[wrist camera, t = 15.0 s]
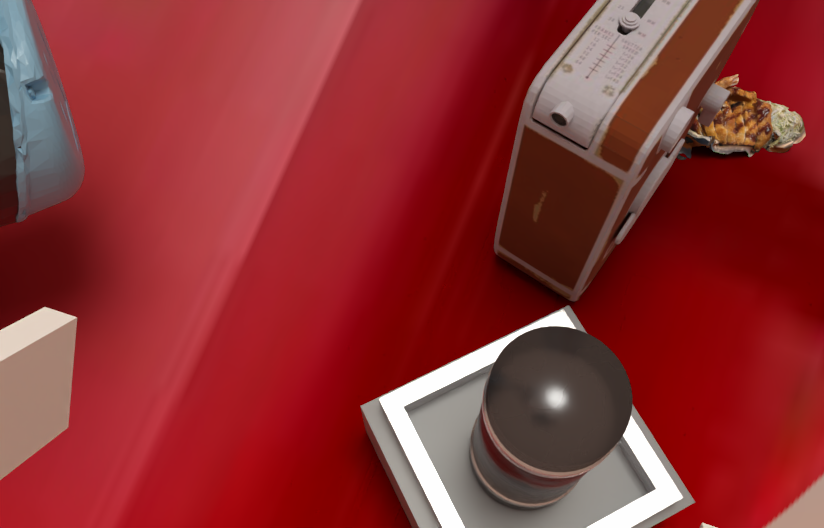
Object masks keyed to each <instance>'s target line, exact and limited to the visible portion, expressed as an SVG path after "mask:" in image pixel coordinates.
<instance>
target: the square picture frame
mask: <svg viewBox="0 0 824 528" xmlns="http://www.w3.org/2000/svg"><path fill="white" fill-rule="evenodd" d="M547 326H562V327H569V328H573V329H576V328H575V327H574V325H573V323H572V322H571V320H570V319H569V317H568V316H567V314H566V312H565V311H564V309H563V310H561V311H559V312H557V313H555V314H552V315H550V316H548V317H546V318H544V319H542V320H540V321H538V322H536V323H534V324H532V325H530V326H528V327H526V328H524V329H522V330H520V331H517V332H515V333H513V334H511V335H509V336H507V337H505V338H503V339H501V340H499V341H497V342H495V343H493V344H491V345H489V346H487V347H485V348H482V349H480V350H478V351H476V352H474V353H472V354H470V355H468V356H466V357H464V358H462V359H460V360H458V361H456V362H454V363H452V364H450V365H447V366H445V367H443V368H441V369H439V370H437V371H435V372H433V373H431V374H429V375H427V376H425V377H423V378H421V379H419V380H417V381H415V382H412V383H410V384H408V385H406V386H404V387H402V388H400V389H398V390H396V391H394V392H392V393H390V394H388V395H386V396H384V397H382V398H380V399H379V403H380V407H381V409H382V411H383V413H384V415H385V417H386V419H387V421H388V423H389V425H390V427H391V429H392V431H393V433H394V435H395V437H396V440H397V442H398V444H399V446H400V448H401V450H402V452H403V454H404V456H405V458H406V460H407V462H408V464H409V466H410V468H411V470H412V472H413V474H414V476H415V478H416V480H417V482H418V484H419V486H420V488H421V490H422V492H423V494H424V496H425V498H426V500H427V502H428V504H429V506H430V508H431V510H432V512H433V514H434V516H435V518H436V520H437V522H438V524H439V527H440V528H464V526H463V524H462V522H461V520H460V518H459V516H458V514H457V512H456V510H455V508H454V506H453V504H452V502H451V500H450V498H449V496H448V494H447V492H446V490H445V488H444V486H443V484H442V482H441V480H440V478H439V476H438V474H437V472H436V471H435V469H434V467H433V465H432V463H431V461H430V459H429V457H428V455H427V453H426V451H425V449H424V447H423V445H422V443H421V441H420V439H419V437H418V435H417V433H416V431H415V429H414V427H413V425H412V423H411V421H410V419H409V417H408V415H407V413H406V412H408V411H410V410H412V409H414V408H416V407H418V406H420V405H422V404H424V403H426V402H428V401H430V400H432V399H434V398H436V397H438V396H440V395H442V394H444V393H446V392H448V391H450V390H452V389H454V388H456V387H459V386H461V385H463V384H465V383H467V382H469V381H471V380H473V379H475V378H477V377H479V376H481V375H483V374H485V373H487V372H489V371H490V370H491V368H492V366H493V365H494V363H495V361H496V359H497V357H498V355H499V354H500V353H501V351H502V350H503V349H504V348H505V347H506V346H507V345H508V344H509V343H510V342H511V341H512V340H513V339H515V338H516V337H518V336H519V335H521V334H523V333H525V332H527V331H530V330H532V329H536V328H540V327H547ZM618 445H619V446H620V448H621V450H622V451H623V453H624V455H625V456H626V458H627V459H628V461H629V463H630V464H631V466H632V467H633V469H634V471H635V472H636V474H637V476H638V477H639V479H640V480H641V482H642V484H643V485H644V487H645V489H646V490H647V492H648V493H649V494H647V495H645V496H643V497H641V498H640V499H638V500H636V501H634V502H632V503H631V504H629V505H627V506H625V507H623V508H622V509H620V510H618V511H616V512H614V513H612V514H611V515H609V516H607V517H605V518H603V519H602V520H600V521H598V522H596V523H594V524H593V525H591V526H589V527H587V528H630V527H632V526H634V525H636V524H637V523H639V522H641V521H643V520H645V519H646V518H648V517H650V516H652V515H653V514H655V513H657V512H659V511H661V510H662V509H664V508H666V507H668V506H669V505H671V504H673V503H675V502H677V501H678V500H680V499H682V498H683V496H682V495H681V493H680V492H679V490H678V489H677V487H676V485H675V484H674V482H673V481H672V479H671V478H670V476H669V474H668V473H667V471H666V470H665V468H664V467H663V465H662V463H661V462H660V460H659V459H658V457H657V456H656V454H655V452H654V451H653V449H652V448H651V446H650V445H649V443H648V441H647V440H646V438H645V437H644V435H643V434H642V432H641V430H640V429H639V427H638V426H637V424H636V423H635V421H634V419H633V418H632V416H631V417H630V421H629V424H628V426H627V429H626V431H625V433H624V434H623V436H622V437H621V439H620V440H619V442H618Z"/></svg>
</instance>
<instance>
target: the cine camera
mask: <svg viewBox="0 0 824 528" xmlns="http://www.w3.org/2000/svg"><path fill="white" fill-rule="evenodd" d="M758 2H759V0H597V1H596V3H595V4H594V5H593V6H592V7H591V9H590V10H589V11H588V12H587V14H586V15H585V16H584V17H583V18H582V20H581V21H580V22H579V23H578V24H577V26H576V27H575V28H574V29H573V31H572V32H571V33H570V34H569V35H568V37H567V38H566V39H565V40H564V42H563V43H562V44H561V45H560V46H559V48H558V49H557V50H556V51H555V53H554V54H553V55H552V56H551V57H550V59H549V60H548V61H547V62H546V63H545V65H544V66H543V67H542V69H541V70H540V72H539V73H538V74H537V76H536V77H535V79H534V81H533V82H532V84H531V86H530V88H529V90H528V92H527V95H526V98H525V100H524V104H523V108H522V111H521V115H520V119H519V123H518V128H517V132H516V137H515V142H514V147H513V152H512V157H511V161H510V166H509V171H508V176H507V181H506V185H505V190H504V195H503V200H502V205H501V210H500V214H499V219H498V224H497V229H496V234H495V241H494V251H495V253H496V254H497V255H498V256H499V257H500V258H502V259H503V260H505V261H506V262H508V263H510V264H511V265H513V266H514V267H516V268H518V269H519V270H521V271H522V272H524V273H525V274H527V275H529V276H530V277H532V278H533V279H535V280H537V281H538V282H540V283H541V284H543V285H545V286H546V287H548V288H549V289H551V290H553V291H554V292H556V293H557V294H559V295H561V296H563V297H564V298H566V299H568V300H570V301H577V300H578V299H579V298H580V297H581V295H582V294H583V293H584V291H585V290H586V289H587V287H588V286H589V284H590V283H591V282H592V280H593V279H594V277H595V276H596V274H597V273H598V271H599V270H600V268H601V267H602V265H603V264H604V262H605V261H606V260H607V258H608V257H609V255H610V254H611V252H612V251H613V249H614V248H615V246H616V245H617V244H620V243H621V242H622V240H623V239H624V238H625V236H626V235H627V233H628V232H629V230H630V228H631V227H632V225H633V224H634V222H635V221H636V219H637V218H638V216H639V215H640V213H641V212H642V210H643V209H644V207H645V206H646V204H647V203H648V201H649V200H650V198H651V196H652V195H653V193H654V192H655V190H656V189H657V187H658V186H659V184H660V183H661V181H662V180H663V178H664V177H665V175H666V174H667V172H668V171H669V169H670V167H671V166H672V164H673V162H674V160H675V159H676V157H677V155H678V153H679V151H680V149H681V148H682V146H683V144H684V142H685V140H684V139H685V137H686V135H687V133H688V131H689V130H690V128H691V126H692V124H693V122H694V120H695V119H696V117H697V115H698V113H699V111H700V109H701V108H703V110H702V112H701V114H700V116H699V118H698V120H697V121H698V122H699V123H701V124H703V125H705V126H707V127H709V126H710V124H711V123H712V121H713V119H714V118H715V116H716V114H717V113H718V112H719V111H720V109H721V108H722V106H723V104H724V103H725V101H726V100H727V98H728V96H729V95H730V91H728V90H726V89H724V88H722V87H720V86H718V85H716V84H715V82H716V80H717V78H718V77H719V75H720V73H721V71H722V69H723V67H724V66H725V64H726V62H727V60H728V58H729V56H730V55H731V53H732V51H733V49H734V47H735V45H736V44H737V42H738V40H739V38H740V36H741V35H742V33H743V31H744V29H745V27H746V25H747V23H748V22H749V20H750V18H751V16H752V14H753V12H754V10H755V8H756V6H757V4H758Z"/></svg>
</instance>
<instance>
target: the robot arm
mask: <svg viewBox="0 0 824 528" xmlns="http://www.w3.org/2000/svg"><path fill="white" fill-rule="evenodd" d="M84 172H85V168H84V160H83V156H82V151H81V147H80V143H79V139H78V135H77V131H76V128H75V124H74V121H73V117H72V114H71V111H70V107H69V104H68V101H67V98H66V94H65V91H64V88H63V85H62V82H61V79H60V76H59V73H58V70H57V67H56V64H55V61H54V59H53V56H52V53H51V50H50V47H49V44H48V42H47V39H46V36H45V33H44V31H43V28H42V25H41V23H40V20H39V18H38V15H37V13H36V10H35V8H34V6H33V3H32V1H31V0H0V227H1V226H5V225H8V224H11V223H14V222H17V223H18V222H22V221H24V220H25V219H27V217H28V216H29V215H31V214H34V213H36V212H38V211H41V210H43V209H46V208H48V207H51V206H53V205H56V204H58V203H61V202H63V201H66V200H68V199H69V198H71V197H72V196H73V195H74V194H75V193H76V192H77V191H78V190H79V188H80V187H81V184H82V181H83V179H84ZM76 326H77V317H75V316H72V315H68V314H65V313H62V312H59V311H56V310H53V309H50V308H47V307H44V308H42V309H40V310H38V311H36V312H34V313H32V314H30V315H28V316H26V317H24V318H23V319H21V320H19V321H17V322H15V323H13V324H11V325H9V326H7V327H5V328H3V329H1V330H0V480H1V479H2V478H3V477H5V476H6V475H7V474H9V473H10V472H11V471H12V470H14V469H15V468H16V467H18V466H19V465H20V464H22V463H23V462H24V461H25V460H27V459H28V458H29V457H31V456H32V455H33V454H34V453H36V452H37V451H38V450H40V449H41V448H42V447H44V446H45V445H46V444H47V443H49V442H50V441H51V440H53V439H54V438H55V437H56V436H58V435H59V434H60V433H62V432H63V431H64V430H66V429H67V428H68V422H69V410H70V398H71V386H72V374H73V362H74V350H75V338H76ZM700 528H717V527H714V526H711V525H708V524H705V523H702V524H701V526H700Z"/></svg>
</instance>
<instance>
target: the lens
mask: <svg viewBox="0 0 824 528" xmlns="http://www.w3.org/2000/svg"><path fill="white" fill-rule="evenodd" d="M631 412H632V391H631V386H630V382H629V379H628V376H627V374H626V371H625V369H624V368H623V366H622V364H621V362H620V361H619V360H618V358H617V357H616V355H615V354H614V353H613V352H612V351H611V350H610V349H609V348H608V347H607V346H606V345H604V344H603V343H602V342H601V341H599V340H598V339H596V338H595V337H593V336H591V335H589V334H587V333H585V332H582V331H580V330H577V329H573V328H569V327H562V326H547V327H540V328H536V329H532V330H530V331H527V332H525V333H523V334H521V335H519V336H518V337H516V338H515V339H513V340H512V341H511V342H510V343H509V344H508V345H507V346H506V347H505V348H504V349H503V350H502V351H501V353H500V354H499V355H498V357H497V359H496V361H495V363H494V365H493V366H492V368H491V370H490V372H489V374H488V377H487V379H486V383H485V386H484V391H483V396H482V404H481V408H480V411H479V415H478V417H477V418H476V420H475V423H474V426H473V429H472V433H471V437H470V463H471V467H472V471H473V473H474V476H475V478H476V480H477V482H478V483H479V485H480V486H481V488H482V489H483V490H484V491H485V492H486V493H487V494H488V495H489V496H490V497H491V498H492V499H494V500H495V501H496V502H498V503H500V504H502V505H504V506H506V507H509V508H512V509H516V510H523V511H526V510H537V509H541V508H545V507H547V506H549V505H551V504H553V503H555V502H557V501H559V500H560V499H562V498H563V497H565V496H566V495H567V494H568V493H569V492H570V491H571V490H572V489H573V488H574V487H575V486H576V485H577V483H578V482H579V480H580V479H581V478H582V477H583V476H584V475H585V474H586V473H587V472H588V471H590V470H591V469H593V468H594V467H596V466H597V465H598V464H600V463H601V462H602V461H603V460H604V459H605V458H606V457H607V456H608V455H609V454H610V453H611V452H612V451H613V450H614V448H615V447H616V445H617V444H618V442H619V440H620V439H621V437H622V436H623V434H624V433H625V431H626V429H627V426H628V424H629V421H630V417H631Z"/></svg>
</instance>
